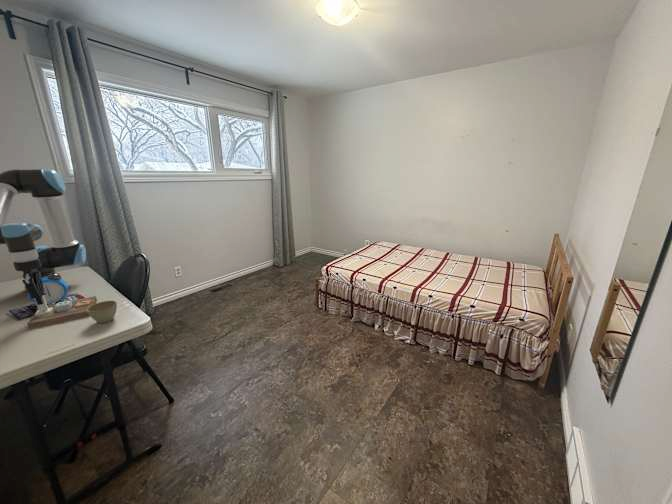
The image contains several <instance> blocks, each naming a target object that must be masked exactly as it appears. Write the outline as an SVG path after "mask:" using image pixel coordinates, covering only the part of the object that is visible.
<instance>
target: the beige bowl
mask: <svg viewBox="0 0 672 504" xmlns="http://www.w3.org/2000/svg"><path fill="white" fill-rule="evenodd" d="M117 307H118V305H117V301H116V300H104V301H100V302H96V304H94V305H92V306H90V307H88V308H87V312H88V314H89V315H88V316H89V317H90V318H91V319H93V320H94V321H95V322H97V323H98V324H106V323H109V322H111V321H113V319H114V318H115V316H116V312H117Z"/></svg>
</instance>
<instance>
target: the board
mask: <svg viewBox="0 0 672 504" xmlns="http://www.w3.org/2000/svg"><path fill="white" fill-rule="evenodd" d="M86 300H91V305H89V306H84V307H80V308H76V305H77V303H78V302H81V301H86ZM71 301H72V305H73V306H72V308H71V309H70V310H65V311H60V312H57V311H56V308H55V306H56V304H57V303H56V304H52V305H47V306H48V308H51V307H53V310H54V311H53V312H52V313H51V314H46V315H41V316H36V315H35V314H36V312H37V311H38V309H37V310H36V312H35V313H34V314H33V315H32V317H31V318H30V319H28V320H29V321H28V322H27V323H26V325H27V328H28V329H33V328H39V327H42V326H47V325H52V324H56V323H61V322H64V321H71V320H74V319H75V320H76V319H78V318H83V317H87V316H90V315H89V314H88V312H87V308H88V307H90V306H92V305H94V304H96V303H98V299H97V296H96V295H94V296H89V297H84V298H77V299H73V300H71Z"/></svg>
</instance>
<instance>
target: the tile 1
mask: <svg viewBox="0 0 672 504" xmlns="http://www.w3.org/2000/svg"><path fill="white" fill-rule="evenodd" d="M37 310H38V309H37ZM37 310H36V311H37ZM53 311H54V310H53V307H51V308H48V310H43V311H39V310H38V311H37V312H35V313H36V314H35V313H34V314H35V315H36V316H41V315H46V314H51V313H52V312H53Z"/></svg>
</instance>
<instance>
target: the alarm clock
mask: <svg viewBox="0 0 672 504" xmlns="http://www.w3.org/2000/svg"><path fill="white" fill-rule="evenodd" d="M42 277H43V278H42V282H43V287H44V290H45V292H44V293H46V295H44V297H45V300H46V303H54V302H58V303H59V301H63V300H64V299H65V298H66V296H67V295H68V289H69V286H68V283H66V281H65V280H63V279H61V278H62V275H61V274H60V273H57V272H56V273H52V274H49V275H48V277H46V276H42ZM27 295H28V298H29V300H31V302H33V303H35V304H36V302H35V299H34V298H33V299H31V296H30V294H29V292H27Z"/></svg>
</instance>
